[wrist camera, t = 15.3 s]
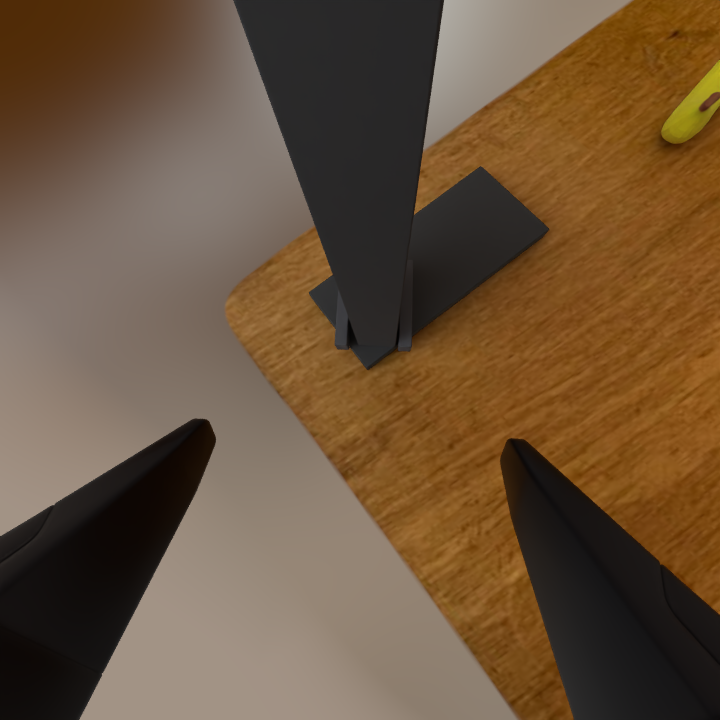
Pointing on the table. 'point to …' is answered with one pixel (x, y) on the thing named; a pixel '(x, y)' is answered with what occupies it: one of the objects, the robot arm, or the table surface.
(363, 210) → the upright pad
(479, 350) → the table surface
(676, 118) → the fruit
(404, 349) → the base pad
